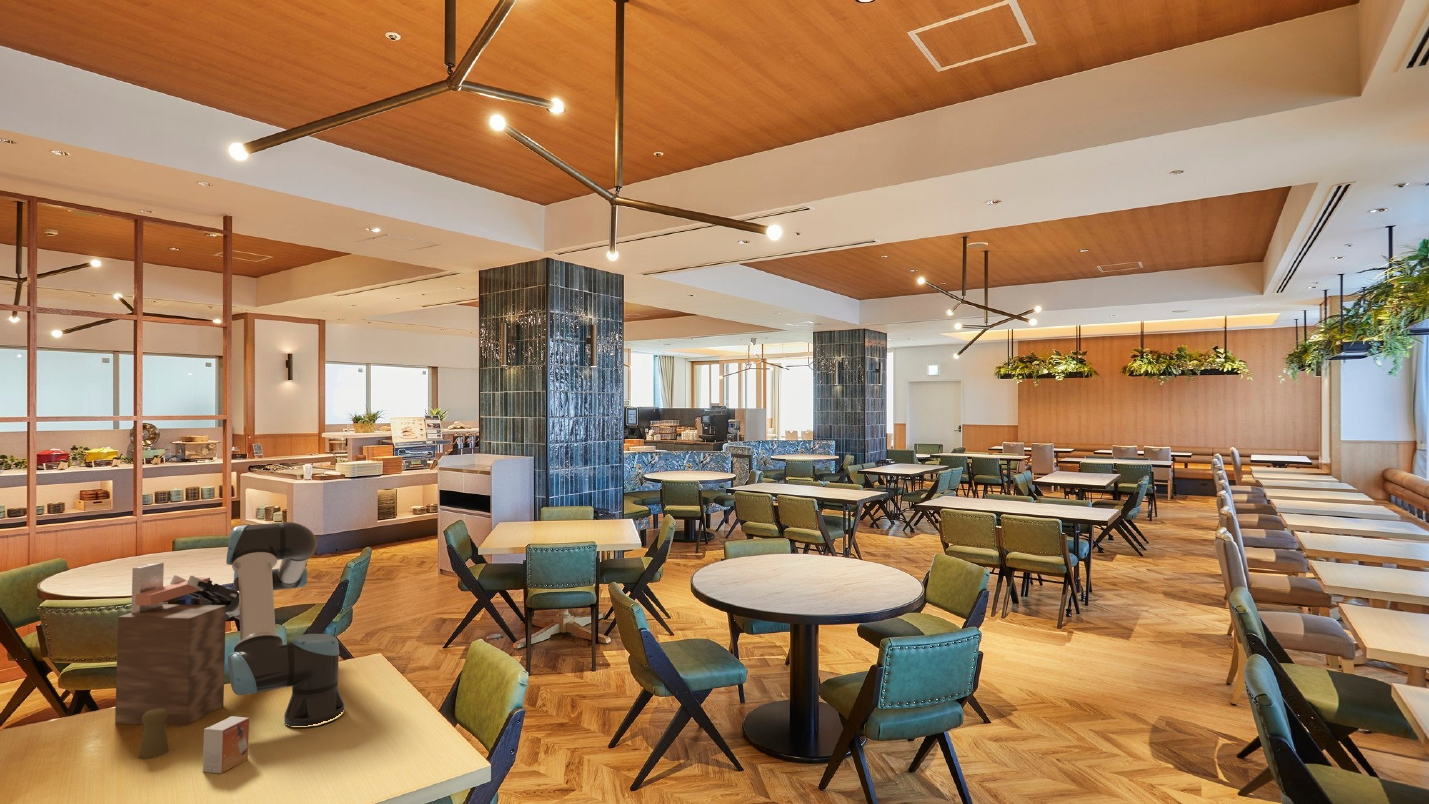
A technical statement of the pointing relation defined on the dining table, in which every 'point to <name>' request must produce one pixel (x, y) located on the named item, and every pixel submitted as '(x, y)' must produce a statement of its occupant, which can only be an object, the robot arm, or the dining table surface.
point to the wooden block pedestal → (170, 663)
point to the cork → (154, 734)
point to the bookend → (146, 584)
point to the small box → (225, 744)
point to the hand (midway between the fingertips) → (181, 580)
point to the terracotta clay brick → (166, 593)
